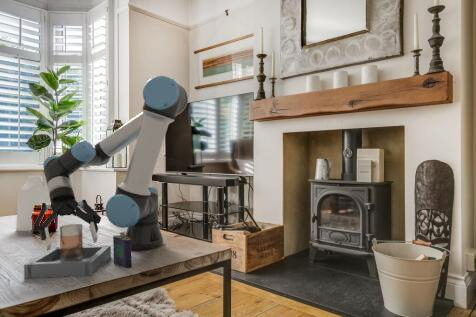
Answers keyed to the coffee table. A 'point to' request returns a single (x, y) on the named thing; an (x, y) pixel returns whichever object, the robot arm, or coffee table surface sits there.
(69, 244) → the glass with pinkish-brown filling
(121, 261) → the flask
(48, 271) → the tray
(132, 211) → the robot arm
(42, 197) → the milk
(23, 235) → the coffee table surface
